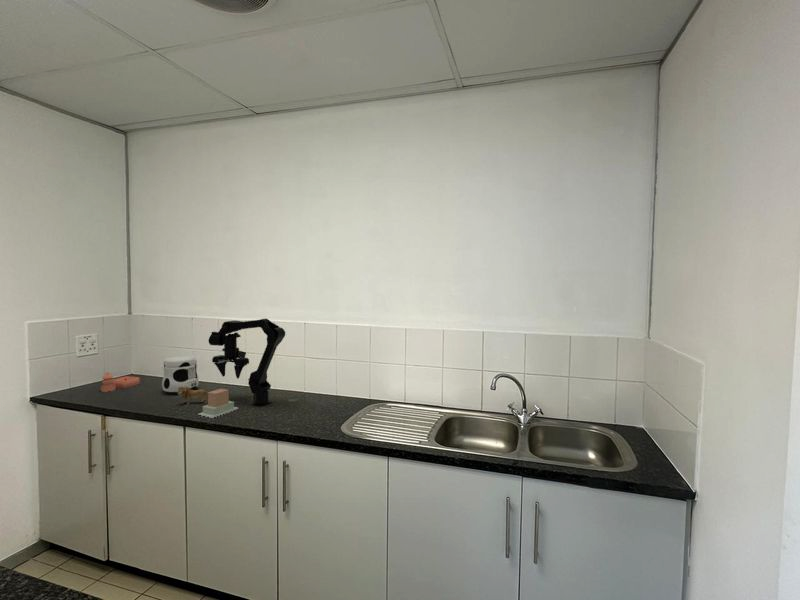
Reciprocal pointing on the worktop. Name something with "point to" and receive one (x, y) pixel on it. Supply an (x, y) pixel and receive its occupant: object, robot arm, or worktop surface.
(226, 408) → the grey scalloped base block
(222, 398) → the terracotta brick
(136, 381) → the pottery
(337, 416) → the worktop surface
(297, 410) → the worktop surface
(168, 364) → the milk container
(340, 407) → the worktop surface
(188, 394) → the lion figurine
